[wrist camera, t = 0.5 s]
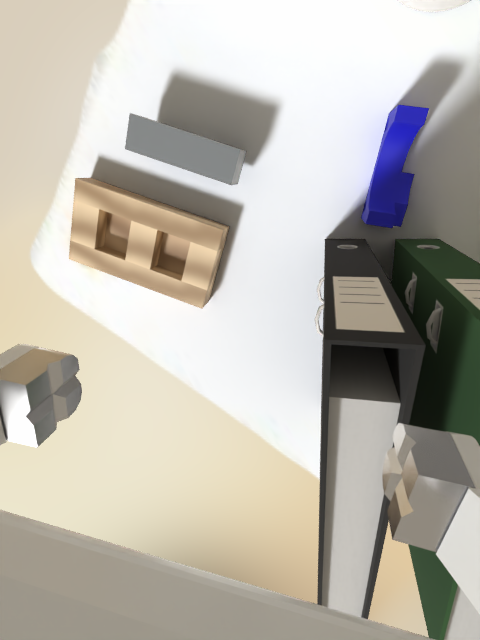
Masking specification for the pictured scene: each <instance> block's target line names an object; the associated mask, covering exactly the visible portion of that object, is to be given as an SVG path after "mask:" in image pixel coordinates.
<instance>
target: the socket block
mask: <svg viewBox="0 0 480 640" xmlns="http://www.w3.org/2000/svg"><path fill="white" fill-rule="evenodd" d="M229 227H230V226H227V225H224V224H221V223H218V222H215V221H212V220H210V219H207V218H204V217H201V216H198V215H195V214H192V213H190V212H187V211H184V210H181V209H178V208H175V207H172V206H170V205H167V204H164V203H161V202H158V201H155V200H152V199H150V198H147V197H144V196H141V195H138V194H135V193H132V192H130V191H127V190H124V189H121V188H118V187H115V186H112V185H110V184H107V183H104V182H101V181H98V180H95V179H92V178H75V191H74V203H73V215H72V227H71V240H70V252H69V259H70V260H73V261H76V262H78V263H81V264H84V265H86V266H89V267H92V268H94V269H97V270H100V271H102V272H105V273H108V274H111V275H113V276H116V277H119V278H121V279H124V280H127V281H129V282H132V283H135V284H137V285H140V286H143V287H145V288H148V289H151V290H153V291H156V292H159V293H162V294H164V295H167V296H170V297H172V298H175V299H178V300H180V301H183V302H186V303H188V304H191V305H194V306H196V307H199V308H203V307H204V306H205V305H206V304H207V303H208V301H209V299H210V296H211V292H212V288H213V285H214V281H215V278H216V274H217V270H218V267H219V263H220V260H221V256H222V252H223V249H224V245H225V242H226V238H227V234H228V231H229Z"/></svg>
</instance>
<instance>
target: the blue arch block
mask: <svg viewBox="0 0 480 640" xmlns="http://www.w3.org/2000/svg"><path fill="white" fill-rule="evenodd" d="M428 110H429V108H421V107H413V106H404V105H398V106H397V107H395V108H394V109H393V110H392V111H391V112H390V113H389V116H388V119H387V123H386V127H385V131H384V134H383V138H382V142H381V145H380V149H379V153H378V157H377V160H376V164H375V168H374V172H373V175H372V179H371V183H370V186H369V190H368V194H367V198H366V201H365V205H364V209H363V213H362V216H361V219H362V220H363V221H364V222H365V224H369V225H375V226H381V227H387V228H393V226H398V227H401V225H402V221H403V218H404V215H405V212H406V209H407V206H408V199H409V193H410V189H411V185H412V181H413V177H414V174H411V173H404V172H402V169H403V165H404V163H405V160H406V157H407V154H408V152H409V149H410V147H411V145H412V142H413V140H414V138H415V136H416V134H417V133H418V131H419V130H420V128H421V127H422V126H423V125H424V123H425V120H426V117H427V114H428Z"/></svg>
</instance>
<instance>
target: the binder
mask: <svg viewBox="0 0 480 640" xmlns="http://www.w3.org/2000/svg"><path fill="white" fill-rule="evenodd" d="M343 247H350V248H349V249H347V248H343ZM424 248H434V249H424ZM323 281H324V300H323V299H322V298H321V294H320V287H321V284H322V282H323ZM317 292H318V298H319V300H320V301H321V302H322V303H323V305H321V306H320V307H319V308H318V311H317V314H316V317H315V324H316V329H317V332H318V333H319V334H320V335H321V336H322V337H323V356H322V401H321V451H320V502H319V503H320V504H319V553H318V605H321V606H325V607H328V608H331V609H335V610H338V611H341V612H345V613H348V614H352V615H355V616H358V617H362V618H365V619H368V615H369V611H370V606H371V601H372V596H373V592H374V586H375V582H376V578H377V573H378V568H379V563H380V558H381V554H382V549H383V544H384V539H385V535H386V530H387V526H388V521H389V518H388V513H387V510H388V508H389V505H390V502H391V501H390V500H389V499H388V498H387V497H386V495H385V494H384V490H383V482H382V473H383V464H384V460H385V457H386V454H387V451H389V450H390V449H392V448H394V447H395V446H394V442H393V438H392V436H393V433H394V430H395V428H396V426H397V425H398V423H403V424H408V425H413V426H418V427H423V428H428V429H433V430H438V431H443V432H446V431H447V432H452V433H458V434H464V435H469V436H472V437H473V438H475V439H476V441H477V442H478V444H479V446H480V264H479V263H478V262H476V261H474V260H473V259H471V258H469V257H468V256H466V255H464V254H463V253H461V252H459V251H458V250H456V249H455V248H453V247H451V246H450V245H448V244H446V243H445V242H443V241H441V240H440V239H396V240H395V251H394V261H393V272H392V282H391V284H390V282H389V280H388V279H387V277H386V275H385V273H384V272H383V270H382V268H381V266H380V265H379V263H378V261H377V259H376V258H375V256H374V254H373V252H372V251H371V249H370V247H369V245H368V244H367V242H366V240H365V239H325V267H324V277H323V278H321V279H320V282H319V285H318V288H317ZM322 309H324V312H323V331H322V330H321V329H320V326H319V321H318V319H319V316H320V313H321V310H322ZM409 549H410V554H411V558H412V563H413V567H414V571H415V576H416V580H417V585H418V590H419V594H420V599H421V603H422V608H423V612H424V617H425V621H426V626H427V630H428V635H429V638H432V639H435V640H480V614H479V613H478V611H477V610H476V609H475V607H474V606H473V605H472V603H471V602H470V600H469V599H468V598H467V596H466V595H465V594H464V592H463V591H462V589H461V588H460V587H459V585H458V584H457V583H456V581H455V580H454V578H453V577H452V576H451V574H450V573H449V572H448V570H447V569H446V567H445V566H444V565H443V563H442V562H441V561H440V559H439V558H438V556H437V555H436V553H437V552H434V551H430V550H427V549H423V548H420V547H416V546H413V545H410V544H409Z"/></svg>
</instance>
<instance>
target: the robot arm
mask: <svg viewBox="0 0 480 640" xmlns="http://www.w3.org/2000/svg"><path fill="white" fill-rule="evenodd" d="M397 1H399V2H400V3H402V4H403V5H405V6H407V7H409V8H411V9H414V10H418V11H423V12H440V11H446V10H450V9H454V8H456V7H459V6H461V5H464V4H466V3H468V2H470V1H471V0H397ZM78 371H79V364H78V359H77V358H76V357H75V356H74V355H71V354H67V353H63V352H58V351H54V350H50V349H46V348H39V347H36V346H32V345H26V344H18V345H16V346H14V347H12V348H11V349H9V350H7V351H5V352H4V353H2V354H0V445H1V444H3V443H5V442H6V440H7V441H11V442H16V443H20V444H24V445H29V446H33V447H38V446H39V445H40V444H41V443H43V442H44V440H46V439H47V438H48V437H49V436H50V435H51V434H52V433H53V432H54V431H55V430H56V426H57V422H59V421H61V420H64V419H66V418H68V417H69V416H70V415H71V414H72V413H73V412H74V411H75V410H76V408H77V406H78V404H79V402H80V400H81V393H82V388H81V383H80V382H79V380H78V379H77V378H76V376H75V375H76V374H77V372H78ZM392 438H393V442H394V446H395V447H394V448H392V449H390V450H389V451H387V454H386V457H385V460H384V464H383V473H382V482H383V490H384V494H385V495H386V497H387V498H388V499H389V500H390V501H391V502H390V505H389V508H388V510H387V513H388V518H389V523H390V529H391V534H392V539H393V540H396V541H399V542H403V543H406V544H410V545H413V546H416V547H420V548H423V549H427V550H430V551H434V552H437V553H436V555H437V556H438V558H439V559H440V561H441V562H442V563H443V565H444V566H445V567H446V569H447V570H448V572H449V573H450V574H451V576H452V577H453V578H454V580H455V581H456V583H457V584H458V585H459V587H460V588H461V589H462V591H463V592H464V594H465V595H466V596H467V598H468V599H469V600H470V602H471V603H472V605H473V606H474V607H475V609H476V610H477V611H478V613H479V614H480V446H479V444H478V442H477V441H476V439H475V438H473V437H472V436H469V435H464V434H458V433H452V432H447V431H446V432H443V431H438V430H433V429H428V428H423V427H418V426H413V425H408V424H403V423H398V425H397V426H396V428H395V430H394V433H393V436H392ZM0 640H435V639H432V638H429V637H425V636H422V635H419V634H415V633H412V632H408V631H405V630H402V629H398V628H395V627H392V626H388V625H385V624H382V623H378V622H375V621H372V620H368V619H365V618H362V617H358V616H355V615H352V614H348V613H345V612H341V611H338V610H335V609H331V608H328V607H325V606H321V605H318V604H315V603H311V602H308V601H304V600H301V599H298V598H294V597H291V596H288V595H284V594H281V593H278V592H274V591H271V590H267V589H264V588H261V587H257V586H254V585H251V584H247V583H244V582H240V581H237V580H234V579H230V578H227V577H224V576H220V575H217V574H213V573H210V572H207V571H203V570H200V569H197V568H193V567H190V566H187V565H183V564H179V563H177V562H173V561H170V560H166V559H163V558H159V557H156V556H153V555H150V554H146V553H143V552H140V551H136V550H133V549H130V548H126V547H123V546H120V545H116V544H113V543H110V542H106V541H103V540H100V539H96V538H93V537H89V536H86V535H83V534H80V533H76V532H73V531H70V530H66V529H63V528H59V527H56V526H53V525H49V524H46V523H42V522H39V521H36V520H33V519H29V518H26V517H23V516H19V515H16V514H12V513H9V512H6V511H3V510H0Z"/></svg>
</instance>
